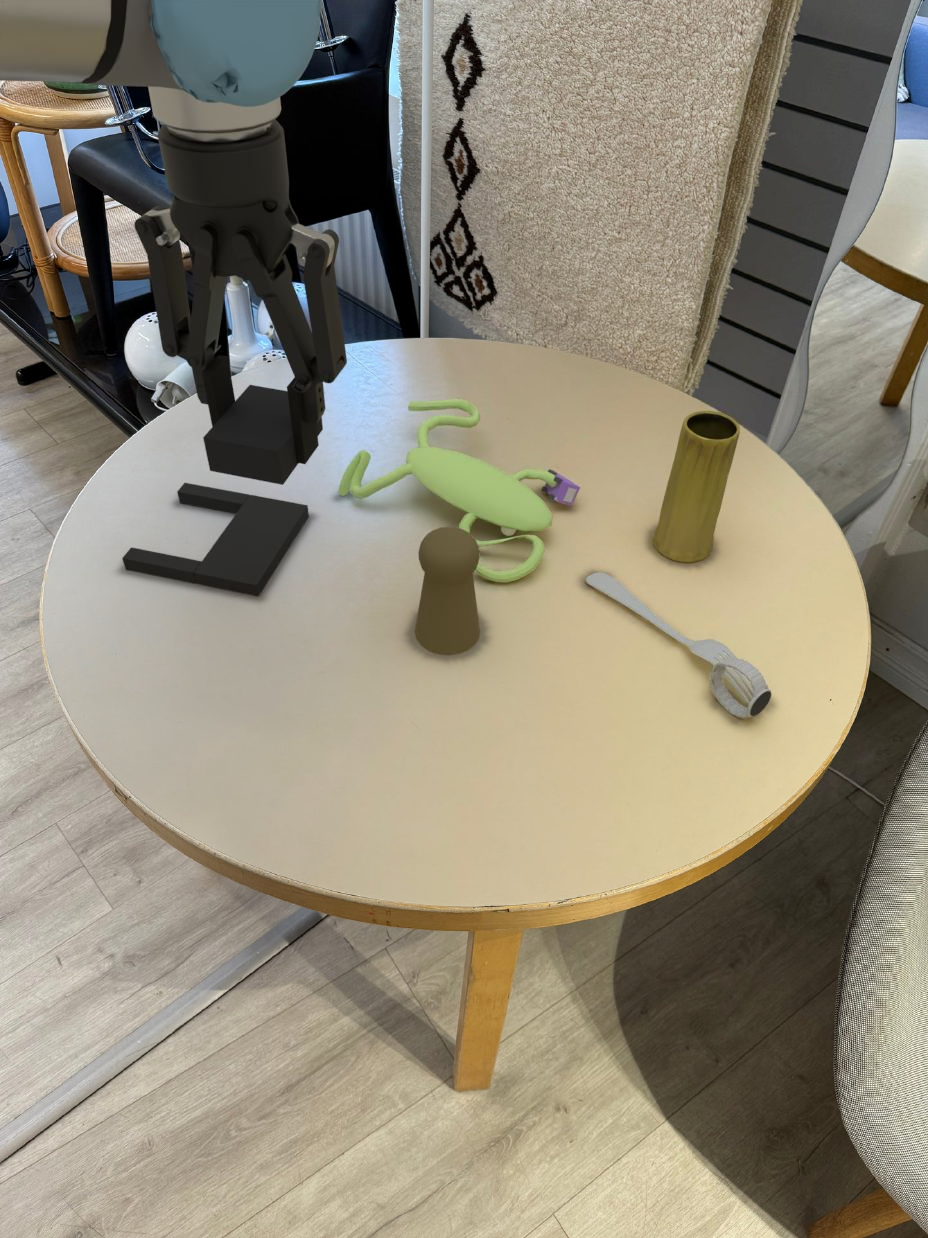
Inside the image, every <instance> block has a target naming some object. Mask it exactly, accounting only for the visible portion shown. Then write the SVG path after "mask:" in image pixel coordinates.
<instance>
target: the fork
mask: <svg viewBox="0 0 928 1238" xmlns="http://www.w3.org/2000/svg"><path fill="white" fill-rule="evenodd" d="M585 582H586V584H587V585H589V586H591V587H592V588H594V589H596V590H597V591H599V592H601V593H603V594H604V595H606V596H609V597H610V598H611V599H613V600H614V601H616V602H618V603H620V604H622V605H623V606H625V607H627V608H628V609H630V610H631V611H633V612H634V613H636V614H637V615H639V616H641V617H642V618H644V619H646V620H647V621H649V622H650V623H651V624H653V625H654V626H655V627H657V628H658V629H660V630H661V631H662V632H664V633H666V635H668V636H670V637H672V638H673V639H675V640H676V641H678V642H679V643H681V644H684V645H686V646H688V648H689V649H690V650H689V651H690V652H691V653H692V654H693V655H696V656H698V657H699V658H702V659H704V660H705V661H707V662H708V663H710V664H711V665H712V666H713V667H714V665H716V664H717V663H719V662H721V661H722V660H724V659H725V658H727V657H735V658H738V657H737V655H735V653H733V651H732V650H731V648H729V647H728V646H727V645H726V644H724V643H722V642H721V641H718V640H715V639H713V638H712V639H711V638H710V639H709V638H707V639H701V640H694V639H691V638H688V637H686V636H685V635H683V634H681V633H680V632H678V631H677V630H676V629H674V628H673V627H672V626H670V625H669V624H668V623H667V622H665V621H664V620H663V619H662V618H660V617H659V616H657V615H656V614H655V613H654V612H653V611H652V610H651V609H649V608H648V607H647V606H646V605H645V604H644V603H643V602H641V600H639V599H638V598H637V597H636V595H634V594H633V593H632V592H631V591H630V590H629V589H628V588H627V587H625V585H623V584H622V583H621V582H620V581H618V580H617V579H616V578H615V577H613V576H611V575H610V574H607V573H606V572H600V571H599V572H593V573H592V574H591V575H588V576H587V577H586V578H585ZM722 677H724V678H725V679H726V680H727V682H728V683H729V684H730V685H731V686H732V687H733V688H734V689H735V691H737V693H738V694H739V695H740V696H741V697H742V698H743V700H744V701H745V702H746V703H747V705H749V703H750V700H751V699H752V696H753V691H754V689H753V687H752V685H751V683H750V681H749V680H748V679H747V678H746V676H744V675H743V674H742V673H740V671H737V670H736V669H734V668H731V667H726V671H725V673H723V675H722ZM736 682H737V683H736ZM745 685H746V686H745ZM741 689H742V690H741ZM749 690H750V691H749ZM743 691H744V692H743ZM750 692H751V693H752V694H751V693H750ZM745 693H746V695H747V696H748V697H749V698H750V700H749V699H748V698H747V696H746V695H745Z"/></svg>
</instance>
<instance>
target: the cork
mask: <svg viewBox="0 0 928 1238" xmlns="http://www.w3.org/2000/svg"><path fill="white" fill-rule="evenodd" d="M476 540H477V539H475V537H474V536H473V535H472V534H471V533H468V532H467V531H465V530H463V529H460V528H459V527H456V526H443V527H442V526H441V527H438V528H434V529H432V530H431V531H429V532H428V533H426V535H425V536H424V537H423V539H422V540H421V541H420V544H419V548H418V561H419V564H420V568H421V570H422V571H423V573H424V575H423V580H422V587H421V591H420V597H419V603H418V610H417V616H416V622H415V627H414V635H415V639H416V641H417V642H418V644H419V645H420V646H421V647H423V648H424V649H426V650H427V651H428V652H431V653H435V654H437V655H445V656H451V655H459V654H462V653H464V652H466V651H469V650H470V649H472V648H473V647H474V646H475V645H476V643H477V642H478V640H479V639H480V633H481V628H480V619H479V612H478V605H477V597H476V589H475V581H474V580H475V579H474V572H476V571H475V569H476V568H477V565H478V563H479V562H480V548H479V547H478V545H477V542H476Z"/></svg>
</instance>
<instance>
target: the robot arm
mask: <svg viewBox="0 0 928 1238" xmlns="http://www.w3.org/2000/svg"><path fill="white" fill-rule="evenodd" d="M322 9H323V4H322V0H0V81H1V82H2V81H4V82H41V83H42V82H43V83H45V82H49V83H70V84H81V85H92V86H103V87H104V86H107V87H108V86H110V87H147V88H148V93H149V99H150V104H151V109H152V115H153V116H152V117H154V118H155V119H156V120H157V121H158V122H159V123H160V124H161V127H160V129H159V131H158V133H157V139H158V144H159V149H160V154H161V160H162V164H163V165H162V166H163V170H164V175H165V180H166V181H165V182H166V186H167V187H168V190H169V192H170V193H171V195H172V202H171V205H170V208H166V209H165V208H164V207H163V206H160V205H156V206H154V207H152V208H151V209H150V210H149V211H147V212H145V213H144V214H142V215H141V216H140V217H138V218H137V219H136V220H135V221H134V226H133V227H134V229H135V232H136V234H137V236H138V239H139V240H140V243H141V245H142V247H143V249H144V251H145V254H146V256H147V262H148V269H149V275H150V282H151V286H152V287H151V288H152V293H153V300H154V305H155V311H156V318H157V319H156V320H157V323H158V329H159V337H160V342H161V347H162V348H161V349H162V351H163V353H164V354H165V355H166V356H167V357H170V358H175V357H179V358H181V359H183V360H184V361H186V362H187V364H188V366H189V367H190V368H191V371H192V376H193V380H194V385H195V390H196V396H197V398H198V400H199V402H200V404H203V405H207V406H208V407H207V408H208V412H209V418H210V422H211V428H212V427H213V426H214V425H215V424H216V422H217V421H218V420H219V419H220V418H221V417H222V416H223V414H224V413H225V412H226V411H227V410H228V409H229V408H230V407H231V405H232V404H233V403H234V402H235V401H236V397H235V391H234V385H233V379H232V373H231V367H230V362H229V361H230V360H229V357H228V356H227V355H221V354H217V356H216V357H215V354H216V353H217V352H218V351H219V350H220V349H221V347H222V345H221V344H219V337H220V330H221V324H222V323H221V322H222V316H223V310H224V309H223V308H224V301H225V295H226V287H227V281H228V277H237V278H240V279H242V280H244V281H248V282H249V281H250V284H251V286H252V289H253V292H254V294H255V295H256V296H257V298H260V299H261V300H262V302H263V304H264V307H265V309H266V311H267V312H266V313H267V314H268V316H269V319H270V321H271V323H272V326H273V328H274V330H275V333H276V335H277V338H278V340H279V343H280V345H281V348H282V350H283V353H284V355H285V357H286V360H287V362H288V364H289V367H290V369H291V371H292V374H293V376H294V377H293V379H292V380H291V381H290V382H289V384H288V385H287V386H286V391H287V392H288V400H289V408H290V417H291V425H292V432H293V435H294V443H295V451H296V460H297V463H298V464H302V465H306V464H307V463H308V462H309V460H310V458H312V455H313V454H314V453H315V451H316V450H317V449H318V447H319V446H320V445H319V444H320V443H319V435H318V434H317V422H318V421H319V420H320V418H321V417H322V418H323V416H324V414H325V412H326V399H325V388H324V383H325V384H332V383H334V381H336V379H337V378H338V376H339V375H340V374H341V373H342V371H343V369H344V368H345V367H346V365H347V363H348V359H347V351H346V343H345V336H344V329H343V322H342V314H341V307H340V300H339V291H338V283H337V278H336V270H335V263H336V259H337V254H338V248H339V244H340V238H339V237H340V236H339V235H338V233H337V232H336V231H334V230H333V229H330V228H328V229H325V230H324V231H322V232H321V233H320V232H318V231H316V230H314V229H312V228H310V227H307V226H305V225H303V224H300V222H299V219H298V216H297V214H296V213H295V211H294V208H293V207H292V204H291V202H290V201H291V200H290V178H289V177H290V176H289V168H288V157H287V150H286V148H287V147H286V140H285V139H286V138H285V130H284V127H283V126H282V125H281V124H280V123H279V122H278V120H276V119H277V118H278V117H279V116H280V114H281V111H282V105H281V104H282V102H281V97H282V96H283V95H285V94H286V93H288V92H289V90H290V89H292V88H293V87H294V86H295V85H296V83H297V82H298V81H299V80H300V79H301V77H302V75H304V72H305V71H306V69H307V67H308V66H309V64H310V61H311V59H312V57H313V55H314V51H315V49H316V47H317V43H318V38H319V35H320V28H321V12H322ZM181 236H182V238H183V240H185V242H186V243H187V244H188V245H189V247H190V249H192V251H193V252H194V257H193V259H194V260H193V268H192V277H191V279H192V283H194V287H193V297H192V306H191V311H190V303H189V294H188V287H187V280H186V273H185V266H184V258H183V250H182V245H181V242H180V237H181ZM291 245H293V246H294V247H295V249H296V251H297V257H298V260H297V261H298V264H299V265H300V266H301V267H304V269H303V284H304V285H303V286H304V291H305V292H304V293H305V298H306V304H307V309H308V316H309V322H310V325H309V322H308V320H307V317H306V314H305V312H304V310H303V306H302V304H301V301H300V298H299V297H298V294H297V291H296V288H295V286H294V283H293V270H292V268H291V265H290V263H289V260H288V258H287V255H286V253H287V252H288V250H289V248H290V247H291Z"/></svg>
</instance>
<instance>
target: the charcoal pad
mask: <svg viewBox="0 0 928 1238" xmlns="http://www.w3.org/2000/svg"><path fill="white" fill-rule="evenodd" d="M323 430H324V425H323V416H322V417H321V418H320V420H319V421H318V422H317V434H318V436H319V435H320V434H321V433H322V431H323ZM202 439H203V443H204V448H205V453H206V459H207V463H208V467H209V471H210V472H214V473H219V474H225V475H230V476H234V477H239V478H245V479H250V480H254V481H261V482H265V483H271V484H276V485H282V486H283V485H285V483H286V482H287V480H288V479H289V477H290V476H291V474H292V473H293V472H294V471H295V469H296V468H297V466H298V465H299V463H297V460H296V451H295V443H294V435H293V432H292V425H291V417H290V408H289V400H288V392H287V390H283V389H277V388H272V387H265V386H259V385H253V384H249V385H248V386H247V387H246V388H245V390H244V391H243V392H242V393H240V395H239V396H238V398H236V399H235V402H234V403H233V404H232V405H231V407H230V408H229V409H228V410H227V411H226V412H225V413H224V414H223V416H222V417H221V418H220V419H219V420H218V421H217V422H216V424H215V425H214V426H213V427H212V426H211V428H210V429H209V430H208V432H206V434H205V435H204V436H203V437H202Z"/></svg>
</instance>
